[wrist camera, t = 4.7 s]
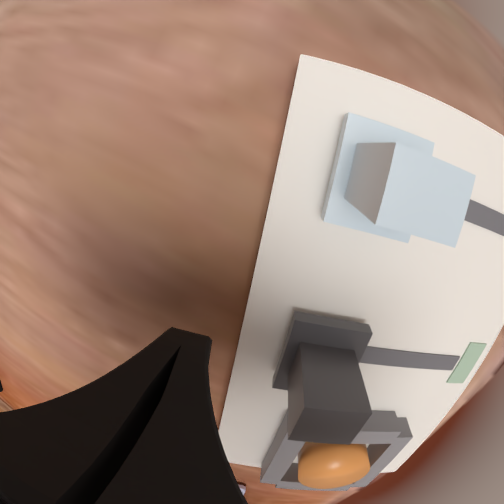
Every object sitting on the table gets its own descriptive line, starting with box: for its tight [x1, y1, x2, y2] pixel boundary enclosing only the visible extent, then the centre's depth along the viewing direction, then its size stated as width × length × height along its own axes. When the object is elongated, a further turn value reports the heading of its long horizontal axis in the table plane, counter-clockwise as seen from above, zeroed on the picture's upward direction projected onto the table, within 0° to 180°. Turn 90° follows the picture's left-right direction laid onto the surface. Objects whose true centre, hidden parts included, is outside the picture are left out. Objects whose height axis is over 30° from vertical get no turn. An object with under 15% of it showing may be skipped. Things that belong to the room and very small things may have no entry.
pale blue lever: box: [321, 112, 476, 248], centre depth 7 cm, size 3×3×4 cm
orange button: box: [298, 442, 370, 489], centre depth 12 cm, size 4×4×2 cm
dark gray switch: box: [272, 311, 373, 445], centre depth 9 cm, size 3×3×4 cm
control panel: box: [219, 54, 504, 491], centre depth 11 cm, size 20×12×3 cm, turn 169°
